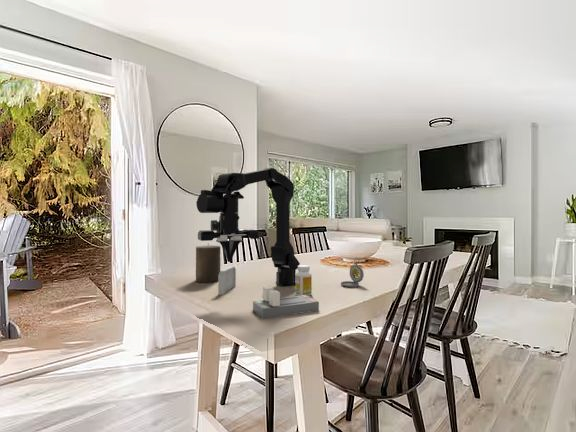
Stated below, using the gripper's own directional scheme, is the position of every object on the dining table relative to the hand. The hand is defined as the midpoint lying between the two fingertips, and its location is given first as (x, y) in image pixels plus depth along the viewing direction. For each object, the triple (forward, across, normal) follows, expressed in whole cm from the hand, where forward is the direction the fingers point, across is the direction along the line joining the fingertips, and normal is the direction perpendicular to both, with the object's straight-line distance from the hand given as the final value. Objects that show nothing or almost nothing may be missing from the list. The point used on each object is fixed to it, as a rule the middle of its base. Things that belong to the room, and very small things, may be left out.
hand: (229, 261), depth 104 cm
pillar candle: (+12, 0, -30) cm, 33 cm away
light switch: (+12, -3, -11) cm, 17 cm away
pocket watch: (+12, -47, +2) cm, 49 cm away
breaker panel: (+12, -12, +18) cm, 24 cm away
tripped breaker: (+9, -7, +20) cm, 23 cm away
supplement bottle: (+12, -24, +5) cm, 28 cm away
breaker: (+9, -7, +15) cm, 19 cm away
